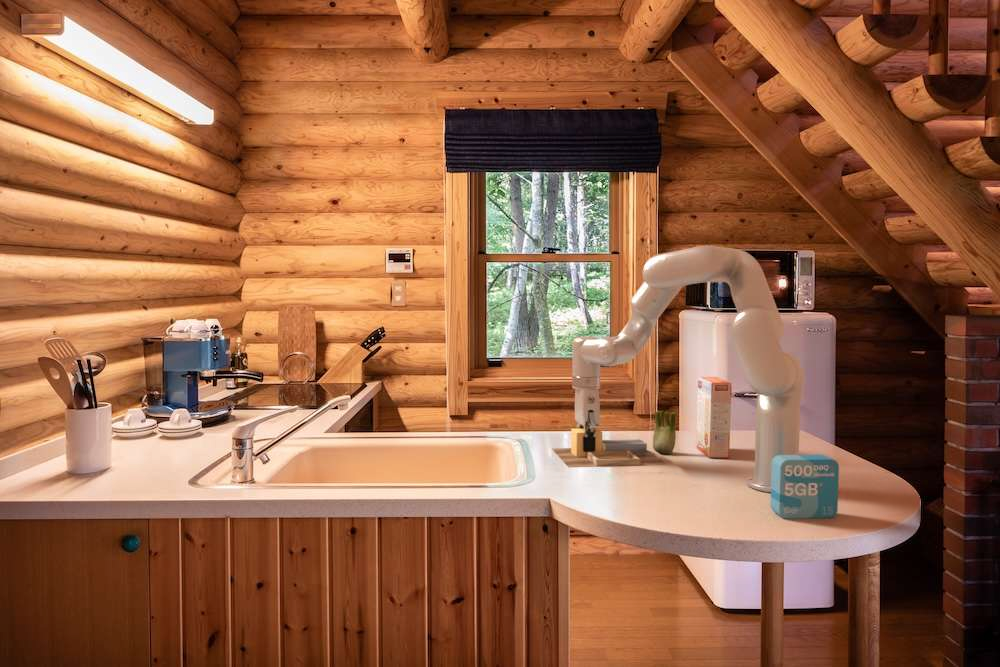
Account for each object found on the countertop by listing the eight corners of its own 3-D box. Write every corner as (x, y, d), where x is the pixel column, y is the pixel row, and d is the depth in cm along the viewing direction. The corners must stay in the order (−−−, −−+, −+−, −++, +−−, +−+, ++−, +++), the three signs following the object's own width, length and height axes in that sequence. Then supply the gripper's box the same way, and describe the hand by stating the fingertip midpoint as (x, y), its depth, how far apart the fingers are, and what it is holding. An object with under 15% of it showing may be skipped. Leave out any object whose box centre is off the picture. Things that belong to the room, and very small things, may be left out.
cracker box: (730, 458, 200) (732, 382, 199) (708, 458, 200) (710, 382, 199) (716, 447, 214) (718, 376, 213) (695, 447, 214) (697, 376, 213)
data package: (779, 519, 147) (780, 459, 147) (769, 512, 152) (771, 454, 151) (837, 518, 148) (839, 459, 147) (826, 511, 152) (828, 454, 152)
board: (668, 469, 188) (668, 452, 187) (568, 471, 185) (568, 455, 184) (641, 450, 210) (641, 435, 209) (551, 452, 206) (551, 437, 206)
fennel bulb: (677, 454, 205) (678, 411, 204) (664, 456, 202) (665, 413, 202) (661, 450, 210) (662, 408, 209) (649, 452, 207) (650, 410, 206)
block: (602, 456, 197) (602, 432, 196) (576, 457, 196) (576, 432, 195) (595, 451, 203) (596, 428, 202) (571, 452, 202) (571, 428, 201)
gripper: (608, 386, 190) (608, 455, 191) (591, 378, 207) (591, 442, 208) (580, 386, 189) (580, 456, 190) (565, 379, 206) (565, 442, 207)
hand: (585, 448), depth 199 cm, fingers open, 6 cm apart
